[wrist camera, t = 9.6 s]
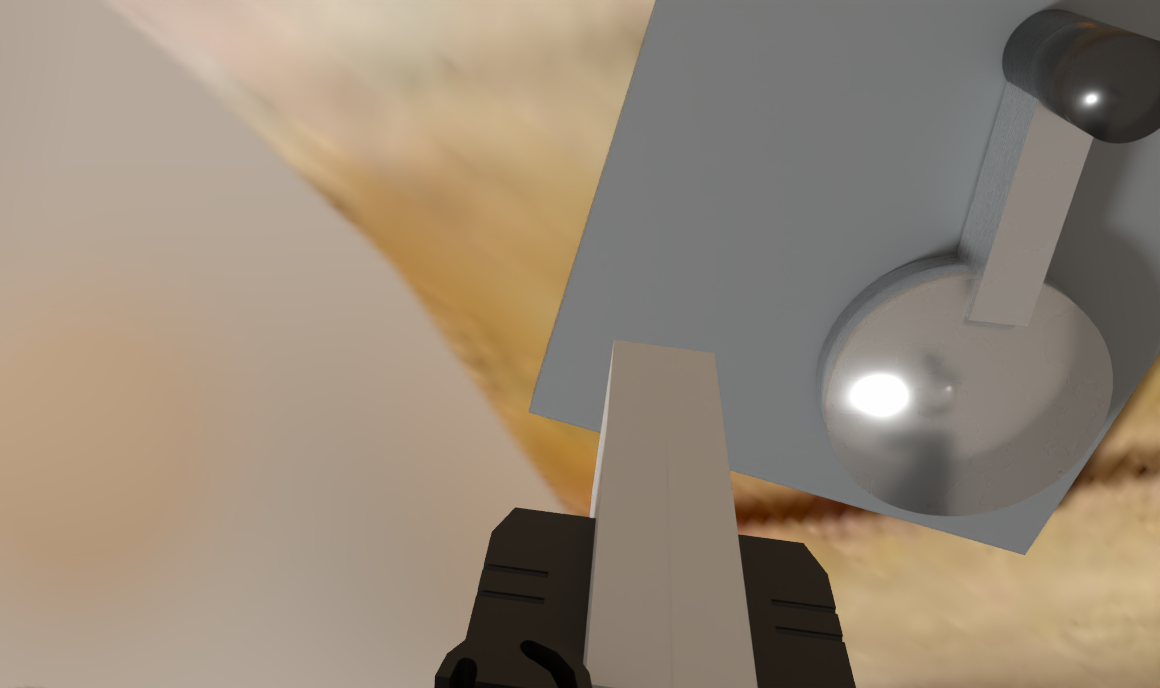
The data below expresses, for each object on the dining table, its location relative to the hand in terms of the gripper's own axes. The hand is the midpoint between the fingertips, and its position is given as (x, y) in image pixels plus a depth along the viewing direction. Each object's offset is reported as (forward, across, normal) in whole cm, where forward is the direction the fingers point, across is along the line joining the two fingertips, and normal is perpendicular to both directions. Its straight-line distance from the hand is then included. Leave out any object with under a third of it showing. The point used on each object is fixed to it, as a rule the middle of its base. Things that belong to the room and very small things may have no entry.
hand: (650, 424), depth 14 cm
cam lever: (+20, -13, +4) cm, 24 cm away
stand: (+22, -10, +2) cm, 25 cm away
